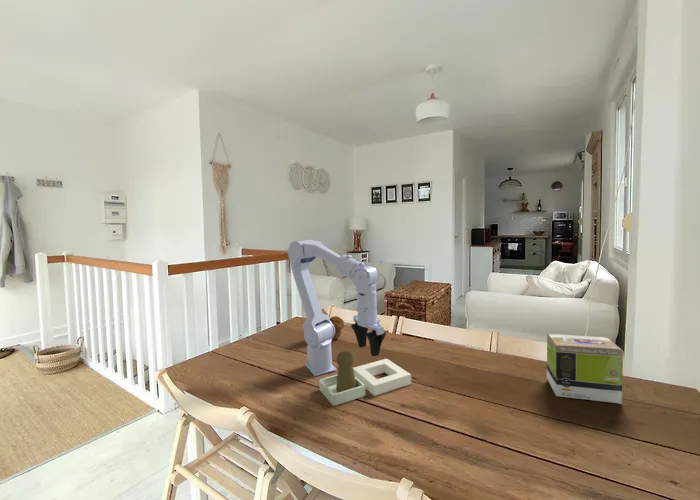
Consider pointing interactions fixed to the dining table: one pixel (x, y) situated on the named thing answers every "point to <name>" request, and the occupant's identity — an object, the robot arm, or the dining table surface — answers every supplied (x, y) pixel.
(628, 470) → the dining table surface
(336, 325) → the stuffed squirrel
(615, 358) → the tea box
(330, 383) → the tray
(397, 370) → the holder
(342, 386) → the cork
